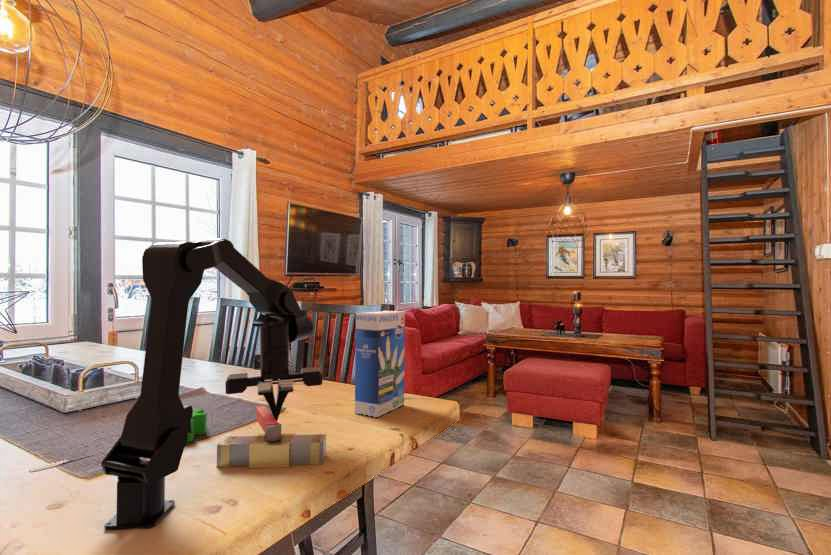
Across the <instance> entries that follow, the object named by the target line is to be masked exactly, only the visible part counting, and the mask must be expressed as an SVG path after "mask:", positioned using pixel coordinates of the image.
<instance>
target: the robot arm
mask: <svg viewBox="0 0 831 555" xmlns="http://www.w3.org/2000/svg"><path fill="white" fill-rule="evenodd" d="M141 261H142V263H141V264H142V266H141V267H142V281H143V283H144V285H145V287H146V289H147V292H148V293H149V296H150V300H151V301H150V308H149V309H150V310H149V311H150V312H149V318H148V327H147V335H146V343H145V354H144V360H143V361H144V362H143V371H142V378H141V389H140V394H139V397H138V399H137V400H136V402H135V403H134V404H133V406H132V407H131V408H130V410H129V411H128V412H127V414H126V417H125V420H124V424H123V427H122V432H121V435H120V437H119V438H118V440H117V441H115V442H116V443H114V445H113V446H112V447H111V448H110V449H111V450H110V451H108V452H107V454H106V456H105V457H104V458H103V459H102V461H101V463H100V464H101V465H100V466H101V467H102V470H103V473H104V475H105V476H114V477H117V482H116V514H115V515H113V517H111V518H110V519H109V520H108V521H107V522H106V523H104V524H103V526H104V527H103V528H104V529H105V530H118V529H120V530H122V529H140V528H141V529H144V528H145V529H146V528H153V527H155V526H156V525H157V524H158V523H159V522H160V521H161V519H162V518H164V516H165V515H167V513H168V512H169V511H170V510H171V508H173V506H174V505H175V503H176V500H175V499H165V498H166V496H165V494H166V493H165V492H166V491H165V490H166V478H167V476H168V477H169V475H172V474H173V473H174V474H175V473H176V472H177V471H178V470H179V467H180V465H181V459H182V457H183V453H184V449H185V446H186V445H187V443H188V442H187V438H188V433H189V434H191V433H192V431H191V418H192V414H193V411H194V410H193V406H192V405H189V404H188V405H187V404H183V402H182V399H181V397H180V384H181V376H182V365H183V356H184V346H185V339H186V338H185V337H186V329H187V320H188V310H189V303H190V300H191V298H192V297H193V296H194V294H195V293H196V291H197V290H198V288H199V287H200V286H201V284H202V281H203V278H204V277H203V276H204V272H205V271H206V270H209V269H211V268H212V269H213V268H215V269H216V270H217V271H218V272H219V273H221V274H222V275H224V277H225V278H227V279H228V280H229V281H231V282H232V283H233V284H234V285H236V286H237V287H238V288H239V289H241V290H243V291H244V292H245V294H247V296H248V302H249V303H250V304H251V306H252V307H253V308H254V309H255V311H256V312H258V313H260V315H259V316H258V317H257V319H255V320H254V322H252V327H253V328H254V327H255V328H259V344H260V345H259V346H260V347H259V351H260V352H259V354H253V370H254V371H260V376H250V377H249V373H248V372H243V373H232V374H229V375H228V376H227V378H226V379H225V395H234V394H235V395H237V394H243V393H244V392H245V391H246V390H247V389H248V388H249V387H251V388H252V387H257V395H258V396H263V398H264V399H265V400H266V403H267V405H268V407H269V409H270V411H271V412H270V413H271V415H272V416H273V417H274V418H275V420H276V421H277V422H278V420H279V417H280V414H281V410H282V407H283V405H284V403H285V401H286V398H287V397H288V395H289V393H293V392H294V383H300V382H303V384H304V385H305V386H306V387H315V386H321V385H323V372H322V371H321V369H320V368H319V367H318V366H313V367H312V366H311V367H302V368H301V369H300V372H295V373H294V372H292V373H290V343H294V342H297V341H301V340H306V339H308V338H309V337H311V335H312V333H313V331H314V324H313V321H312V319H311V318H310V317H309V316H308V315H306V310H305V309H301V308H300V305H299V303H298V301H297V299H296V297H295V294H294V291H293V290H292V288H291V287H289V286H288V285H286V284H284V283H282V282H279V281H277V280H273V279H271V278H269V277H268V276H266V274H264V273H263V272H262V271H260V269H259V268H257V267H256V266H255V265H254V264H253V263H252V262H250V261H249V260H248V258H246V257H245V256H244V255H243V254H242V253H241V252H240V251H239V250H237V248H236V247H235V246H234V244H233V243H232V241H231V240H229V239H226V238H221V237H220V238H205V239H203V240H199V241H195V242H192V241H176V242H175V241H174V242H173V241H171V242H155V243H153V244H151V245H150V246H149V247H146V248H145V250H144V251H143V254H142V260H141ZM274 385H277V389H276V390H277V392H276V398H275V392H274ZM143 458H144V459H143ZM147 459H149V460H147Z"/></svg>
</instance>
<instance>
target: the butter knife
mask: <svg viewBox="0 0 831 555" xmlns="http://www.w3.org/2000/svg"><path fill="white" fill-rule="evenodd" d="M63 460H64V461H63ZM63 460H59V461H60V462H59V461H56V463H55V462H51V463H47V464H44V465H39V466H37V467H34V468H33V467H32V468H30V469H29V470H28V472H29V473H33V472H39V471H43V470H47V469H52V468H55V467H58V466H57V465H59V464H62V463H63V462H66V461H68V460H66V459H63ZM59 466H60V465H59Z"/></svg>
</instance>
